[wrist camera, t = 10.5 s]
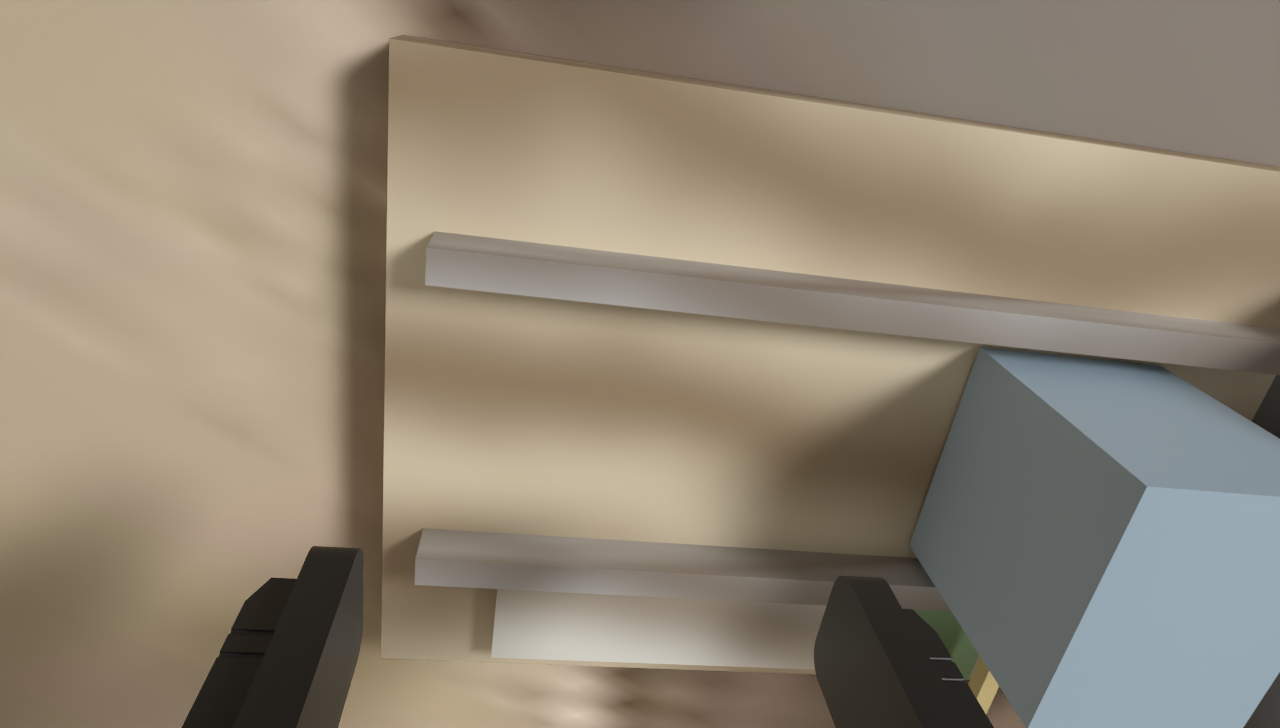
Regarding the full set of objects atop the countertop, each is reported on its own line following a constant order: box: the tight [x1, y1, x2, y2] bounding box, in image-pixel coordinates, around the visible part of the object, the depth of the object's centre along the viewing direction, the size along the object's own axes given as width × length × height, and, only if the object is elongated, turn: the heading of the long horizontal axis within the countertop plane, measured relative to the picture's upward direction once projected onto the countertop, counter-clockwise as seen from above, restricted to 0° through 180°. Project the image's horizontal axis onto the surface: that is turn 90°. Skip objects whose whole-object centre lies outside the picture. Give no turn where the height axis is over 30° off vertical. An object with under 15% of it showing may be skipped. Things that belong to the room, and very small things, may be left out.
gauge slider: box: [909, 347, 1280, 728], centre depth 19 cm, size 10×6×6 cm, turn 172°
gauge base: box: [381, 35, 1280, 728], centre depth 17 cm, size 16×26×10 cm, turn 82°
